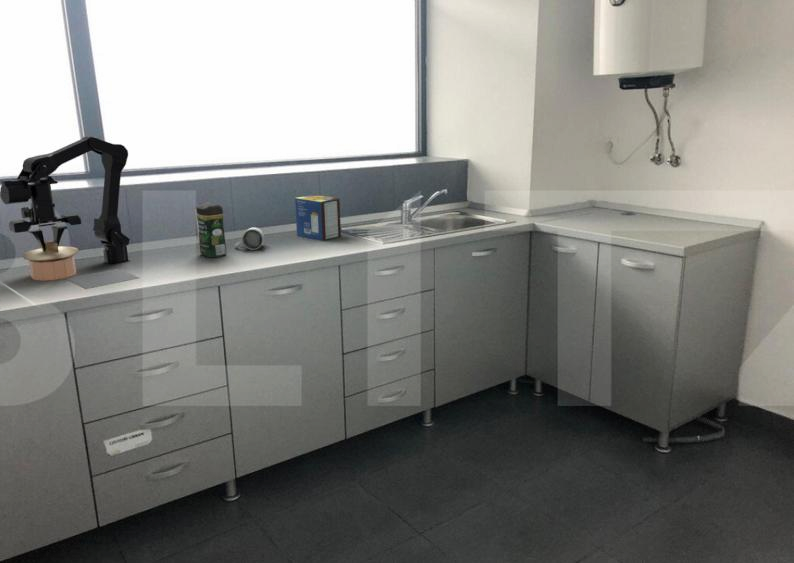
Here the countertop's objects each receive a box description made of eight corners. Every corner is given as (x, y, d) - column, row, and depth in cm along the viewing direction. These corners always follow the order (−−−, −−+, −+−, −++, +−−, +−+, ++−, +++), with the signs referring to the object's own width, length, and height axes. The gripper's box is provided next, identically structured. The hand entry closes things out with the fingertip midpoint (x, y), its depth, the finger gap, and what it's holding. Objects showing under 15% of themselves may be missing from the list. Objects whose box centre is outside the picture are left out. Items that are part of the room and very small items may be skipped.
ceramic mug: (265, 244, 239) (263, 224, 237) (263, 249, 231) (262, 228, 229) (236, 246, 238) (234, 226, 236) (234, 251, 230) (232, 230, 228)
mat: (118, 270, 204) (118, 268, 204) (140, 279, 193) (139, 277, 193) (65, 279, 193) (65, 278, 193) (85, 290, 182) (85, 288, 182)
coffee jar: (196, 254, 224) (192, 202, 219) (217, 251, 229) (213, 200, 224) (209, 259, 217) (204, 205, 212) (230, 255, 222) (225, 203, 217)
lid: (67, 246, 205) (66, 235, 204) (85, 254, 195) (83, 242, 194) (16, 254, 195) (14, 242, 194) (32, 263, 185) (30, 250, 184)
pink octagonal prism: (67, 269, 205) (64, 251, 203) (81, 276, 197) (78, 257, 195) (27, 276, 197) (23, 257, 195) (39, 284, 189) (36, 264, 187)
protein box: (315, 231, 262) (313, 194, 258) (341, 236, 253) (340, 198, 248) (296, 235, 255) (294, 197, 250) (322, 241, 245) (320, 201, 241)
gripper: (65, 194, 202) (72, 241, 207) (-1, 200, 189) (8, 251, 194) (78, 197, 195) (85, 246, 199) (10, 204, 182) (20, 257, 186)
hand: (50, 250), depth 195 cm, fingers closed on lid, 3 cm apart
